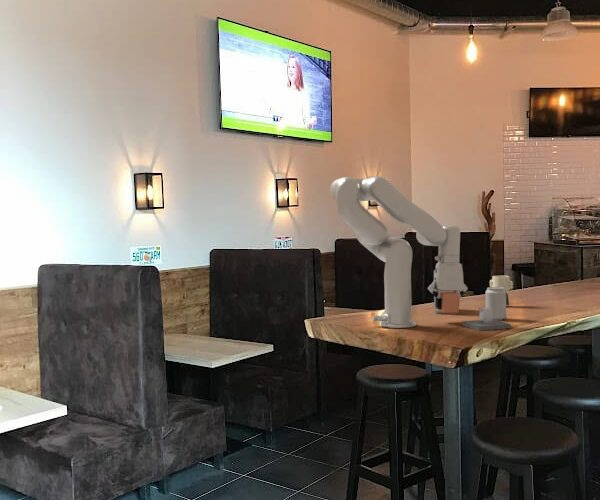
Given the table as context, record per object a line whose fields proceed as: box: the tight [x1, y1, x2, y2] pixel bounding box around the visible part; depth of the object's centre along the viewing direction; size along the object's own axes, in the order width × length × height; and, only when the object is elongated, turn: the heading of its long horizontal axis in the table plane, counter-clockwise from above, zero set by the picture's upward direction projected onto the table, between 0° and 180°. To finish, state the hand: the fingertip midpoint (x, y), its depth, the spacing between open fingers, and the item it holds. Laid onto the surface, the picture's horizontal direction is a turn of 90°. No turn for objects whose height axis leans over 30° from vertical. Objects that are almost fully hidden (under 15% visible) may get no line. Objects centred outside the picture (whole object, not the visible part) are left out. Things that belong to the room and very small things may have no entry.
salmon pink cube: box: [436, 292, 460, 314], centre depth 236 cm, size 6×6×7 cm
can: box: [484, 286, 507, 321], centre depth 241 cm, size 8×8×12 cm
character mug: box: [489, 275, 514, 306], centre depth 275 cm, size 11×7×13 cm, turn 41°
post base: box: [461, 307, 512, 332], centre depth 225 cm, size 12×12×6 cm
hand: (447, 308), depth 236 cm, fingers closed on salmon pink cube, 6 cm apart
